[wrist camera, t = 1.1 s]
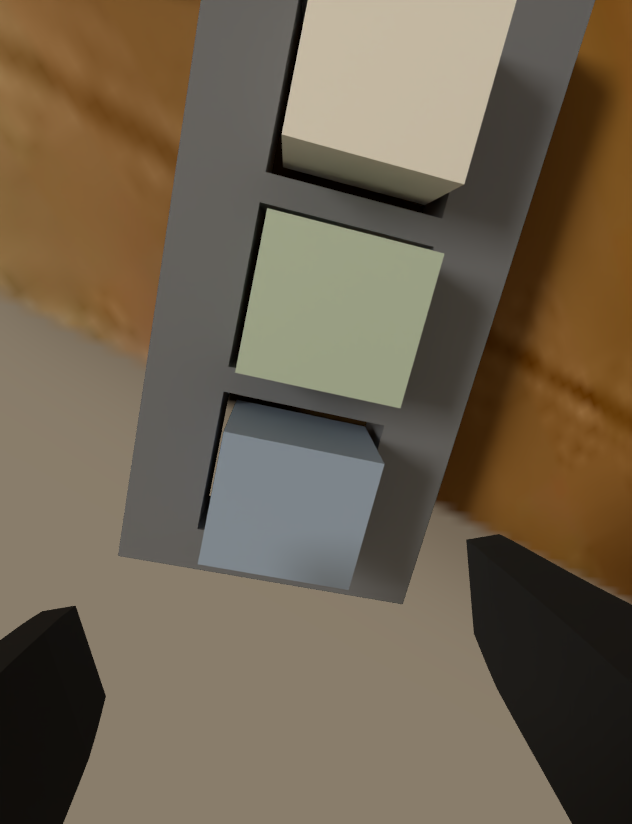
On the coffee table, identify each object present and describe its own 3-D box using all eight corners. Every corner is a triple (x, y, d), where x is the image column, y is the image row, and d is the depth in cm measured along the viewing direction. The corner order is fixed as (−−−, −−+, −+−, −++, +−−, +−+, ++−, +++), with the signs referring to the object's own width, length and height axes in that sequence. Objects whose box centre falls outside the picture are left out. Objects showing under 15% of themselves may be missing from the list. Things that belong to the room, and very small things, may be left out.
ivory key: (464, 58, 14) (519, -11, 11) (424, 205, 15) (464, 184, 12) (313, 12, 14) (322, -75, 10) (283, 167, 15) (281, 134, 11)
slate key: (364, 426, 17) (384, 463, 13) (337, 530, 18) (348, 590, 14) (236, 399, 16) (223, 431, 13) (214, 508, 17) (197, 564, 14)
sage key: (410, 258, 15) (444, 253, 12) (377, 381, 16) (400, 408, 13) (271, 223, 15) (267, 208, 12) (246, 352, 16) (235, 372, 13)
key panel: (547, 39, 16) (597, -7, 13) (388, 563, 20) (402, 604, 18) (232, -61, 14) (220, -131, 12) (140, 519, 19) (118, 555, 17)
